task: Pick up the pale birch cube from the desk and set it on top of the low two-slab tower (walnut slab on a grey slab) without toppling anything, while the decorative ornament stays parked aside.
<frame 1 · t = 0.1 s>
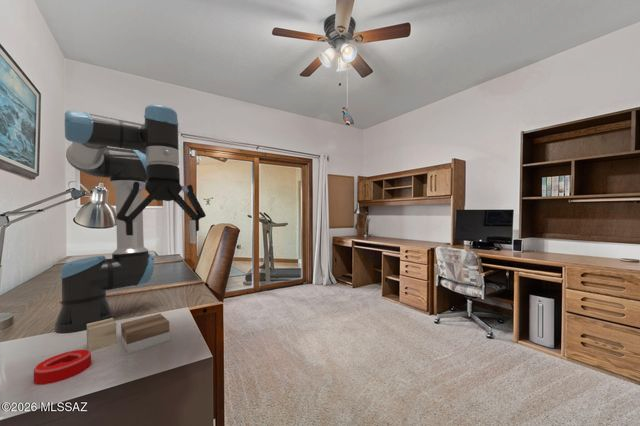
hand: (165, 246, 68), 28 cm above the table, fingers open, 13 cm apart
slab top: (145, 332, 75), point 2 cm above the table
slab bottom: (146, 343, 75), on the table
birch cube: (101, 344, 75), on the table
decorative ornament: (64, 373, 61), on the table
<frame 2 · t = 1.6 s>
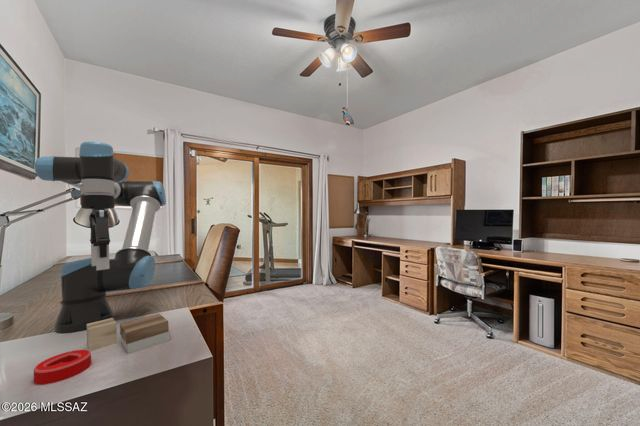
hand: (100, 267, 76), 22 cm above the table, fingers open, 13 cm apart
nothing on the table moved.
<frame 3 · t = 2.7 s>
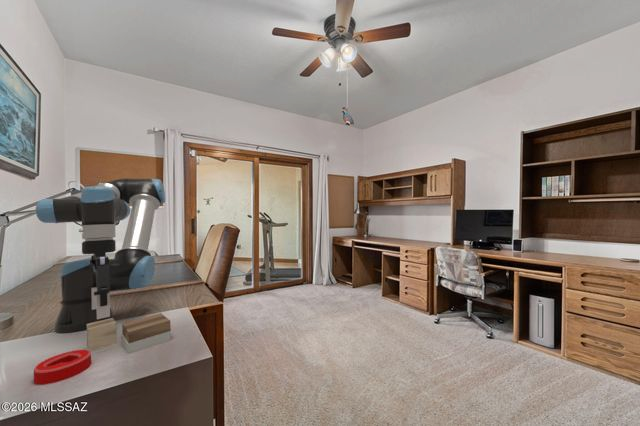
hand: (100, 312, 75), 9 cm above the table, fingers open, 13 cm apart
slab top: (146, 332, 76), point 2 cm above the table, touching slab bottom
slab bottom: (145, 343, 75), on the table, touching slab top
everything else where it was.
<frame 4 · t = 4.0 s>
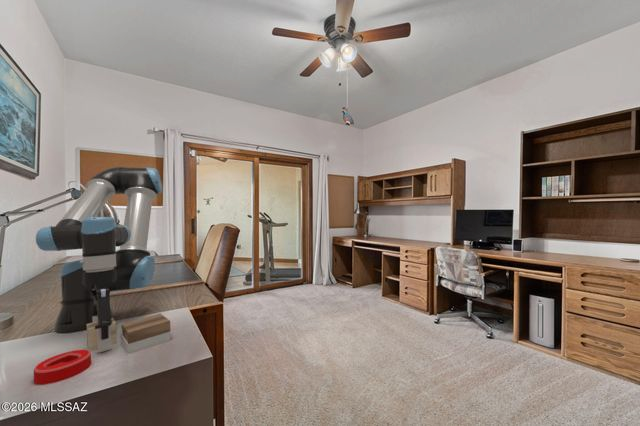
hand: (101, 343, 75), 0 cm above the table, fingers open, 13 cm apart
nothing on the table moved.
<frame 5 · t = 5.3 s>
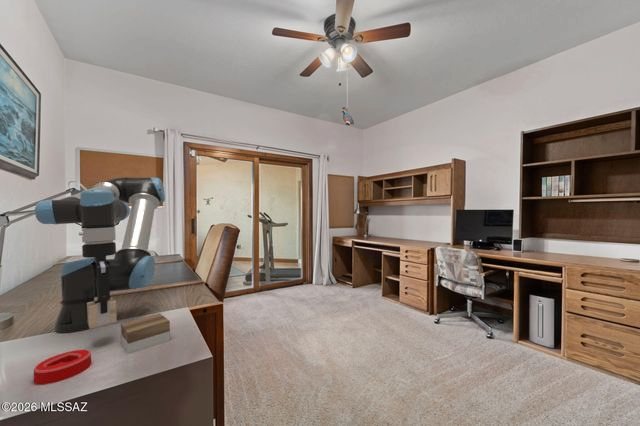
hand: (102, 320, 76), 6 cm above the table, fingers closed on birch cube, 6 cm apart
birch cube: (102, 322, 76), point 6 cm above the table, touching gripper
everything else where it was.
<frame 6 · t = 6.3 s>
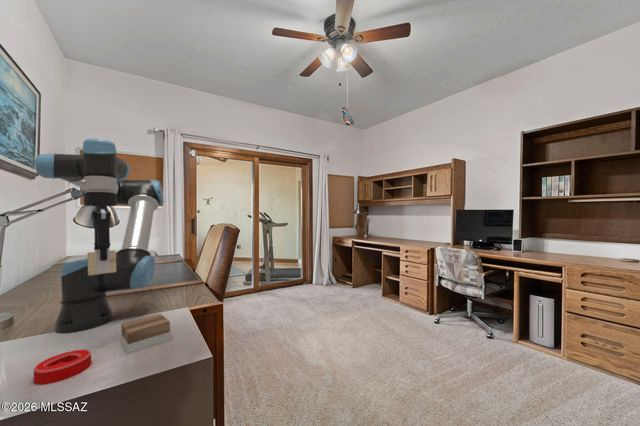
hand: (102, 271, 76), 21 cm above the table, fingers closed on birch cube, 6 cm apart
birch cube: (102, 272, 75), point 21 cm above the table, touching gripper
everything else where it was.
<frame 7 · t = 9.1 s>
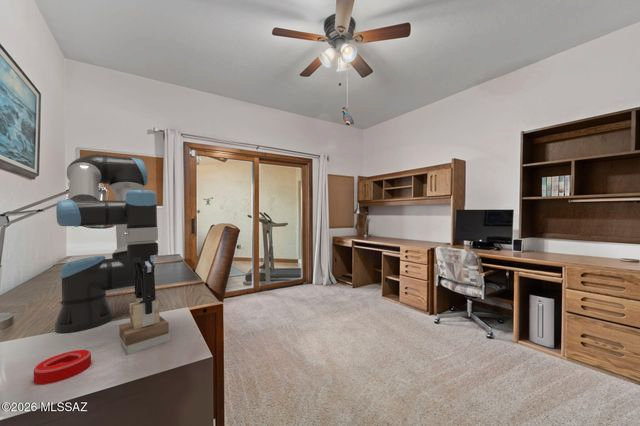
hand: (145, 322, 75), 6 cm above the table, fingers closed on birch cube, 6 cm apart
slab top: (144, 334, 75), point 2 cm above the table, touching gripper, slab bottom
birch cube: (144, 323, 75), point 5 cm above the table, touching gripper
everything else where it was.
when the fingers open (6 cm above the table, at t = 9.2 s): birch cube stays where it is, resting on slab top.
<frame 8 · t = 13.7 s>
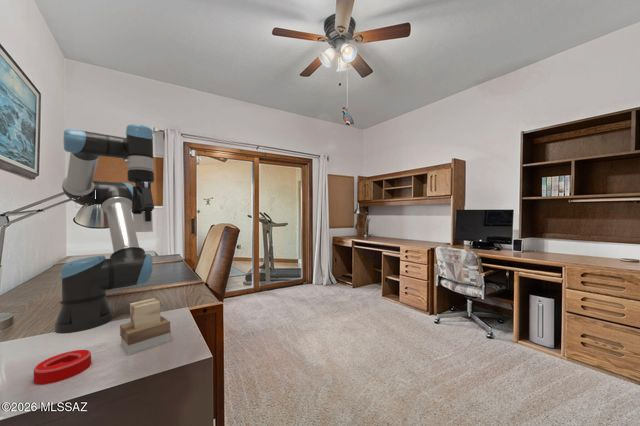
hand: (142, 232, 89), 32 cm above the table, fingers open, 13 cm apart
slab top: (145, 333, 75), point 2 cm above the table, touching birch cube, slab bottom
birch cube: (145, 323, 75), point 5 cm above the table, touching slab top
everything else where it was.
at the end: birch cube point 5.4 cm above the table; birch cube 0.3 cm from the slab top (horizontally); slab top tilted 0° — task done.
